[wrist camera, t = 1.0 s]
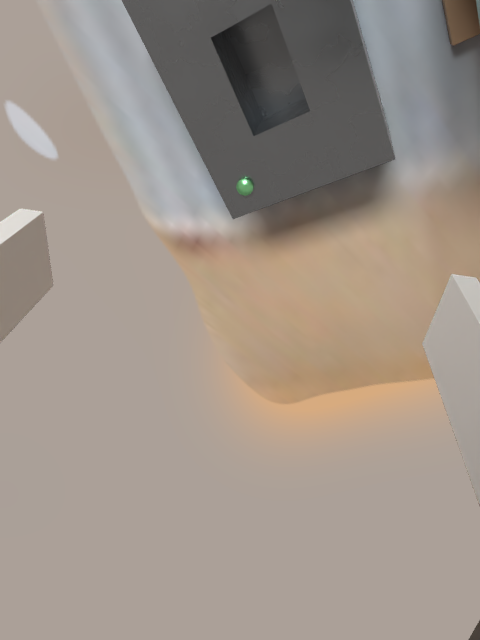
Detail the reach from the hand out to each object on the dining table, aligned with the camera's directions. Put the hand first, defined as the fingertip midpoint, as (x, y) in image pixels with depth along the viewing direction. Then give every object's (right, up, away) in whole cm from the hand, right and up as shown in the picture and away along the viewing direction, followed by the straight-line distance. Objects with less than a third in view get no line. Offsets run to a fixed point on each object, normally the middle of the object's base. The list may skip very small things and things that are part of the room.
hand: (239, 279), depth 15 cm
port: (+2, +17, +18) cm, 25 cm away
